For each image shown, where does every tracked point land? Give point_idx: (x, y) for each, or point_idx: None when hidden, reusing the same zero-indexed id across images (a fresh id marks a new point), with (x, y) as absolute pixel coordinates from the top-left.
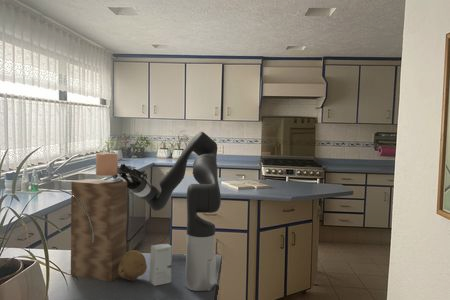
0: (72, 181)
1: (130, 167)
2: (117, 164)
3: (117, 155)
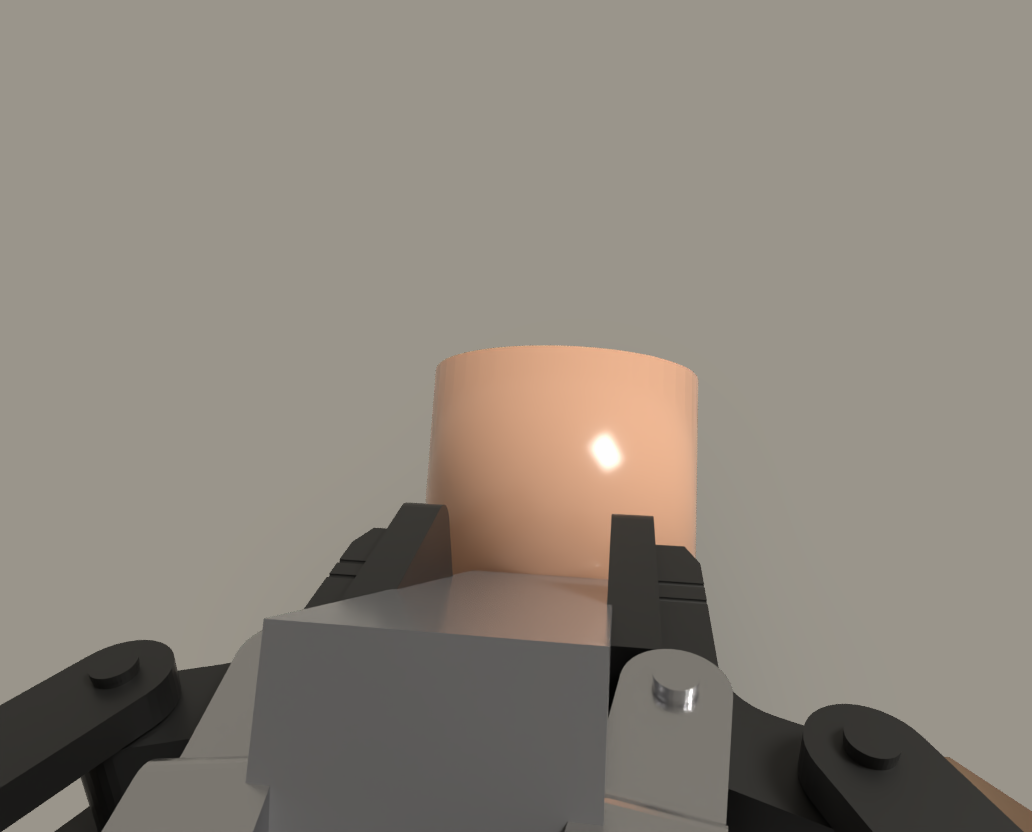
0: (952, 761)
1: (264, 684)
2: (426, 503)
3: (435, 386)
